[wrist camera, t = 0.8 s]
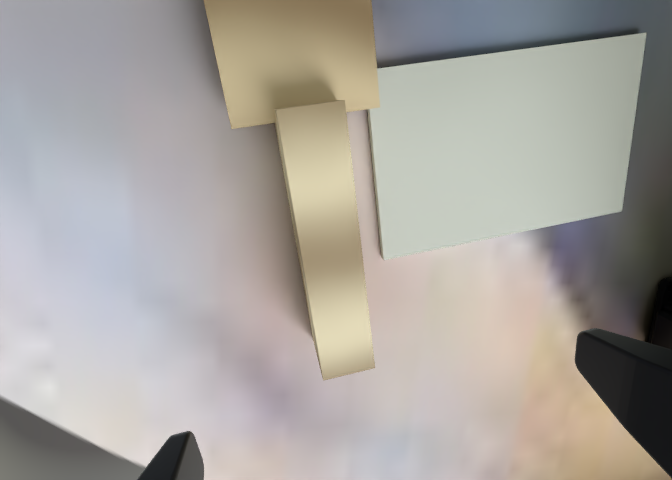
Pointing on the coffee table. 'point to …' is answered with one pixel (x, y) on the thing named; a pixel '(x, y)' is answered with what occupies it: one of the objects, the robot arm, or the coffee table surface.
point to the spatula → (309, 143)
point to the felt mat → (502, 142)
